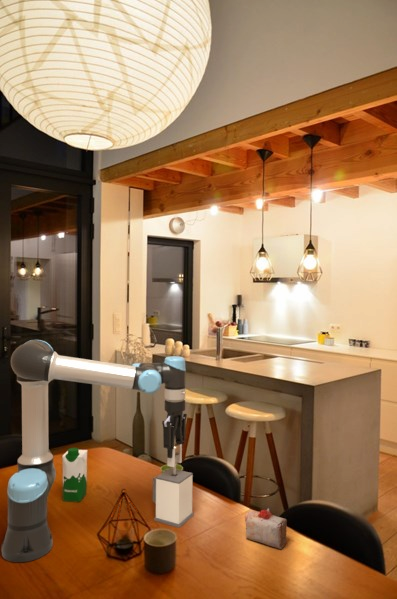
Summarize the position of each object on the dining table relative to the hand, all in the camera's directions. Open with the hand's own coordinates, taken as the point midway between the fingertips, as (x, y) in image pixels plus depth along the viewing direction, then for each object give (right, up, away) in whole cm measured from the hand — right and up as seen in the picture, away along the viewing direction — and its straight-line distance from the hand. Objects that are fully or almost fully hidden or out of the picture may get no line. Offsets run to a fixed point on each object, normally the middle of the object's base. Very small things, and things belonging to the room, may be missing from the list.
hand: (174, 463), depth 166 cm
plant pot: (-3, -20, +25) cm, 32 cm away
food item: (+31, -20, -14) cm, 40 cm away
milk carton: (-40, -19, +16) cm, 48 cm away
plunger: (0, -13, 0) cm, 13 cm away
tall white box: (-2, -20, +1) cm, 20 cm away
